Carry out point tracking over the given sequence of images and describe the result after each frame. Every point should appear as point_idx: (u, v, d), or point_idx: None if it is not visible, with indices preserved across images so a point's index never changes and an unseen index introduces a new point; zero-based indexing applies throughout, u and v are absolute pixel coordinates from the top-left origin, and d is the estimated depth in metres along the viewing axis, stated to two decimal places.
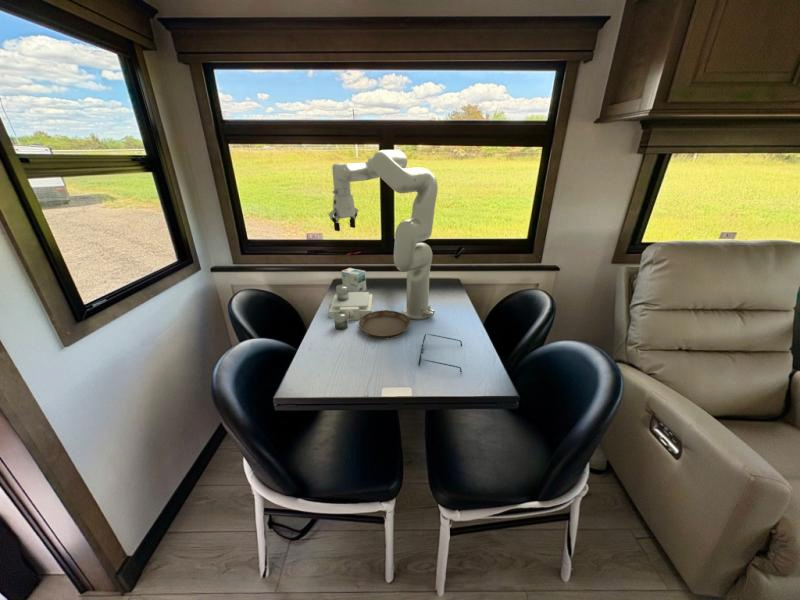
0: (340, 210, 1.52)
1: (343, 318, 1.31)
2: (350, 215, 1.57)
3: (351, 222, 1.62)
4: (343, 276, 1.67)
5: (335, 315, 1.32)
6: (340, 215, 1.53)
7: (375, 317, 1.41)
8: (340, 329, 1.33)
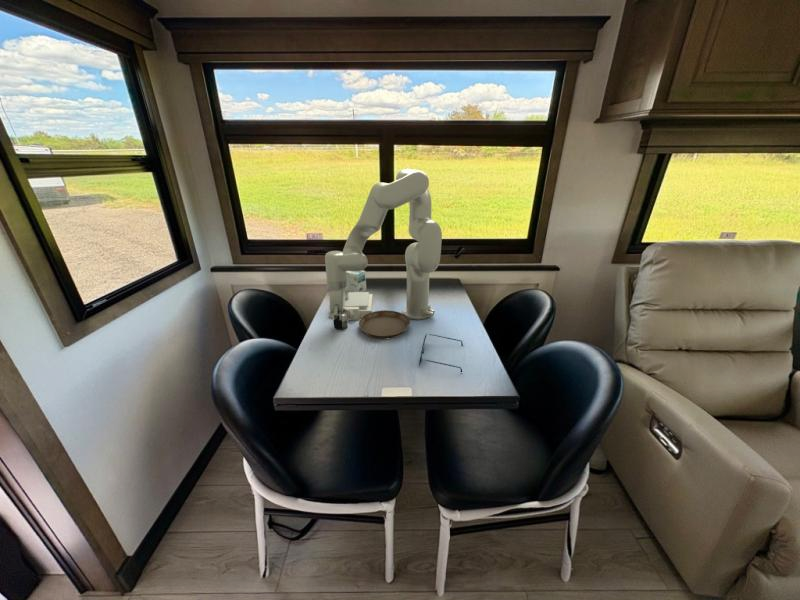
0: None
1: (343, 318, 1.31)
2: None
3: None
4: None
5: None
6: None
7: (375, 317, 1.41)
8: (340, 329, 1.33)
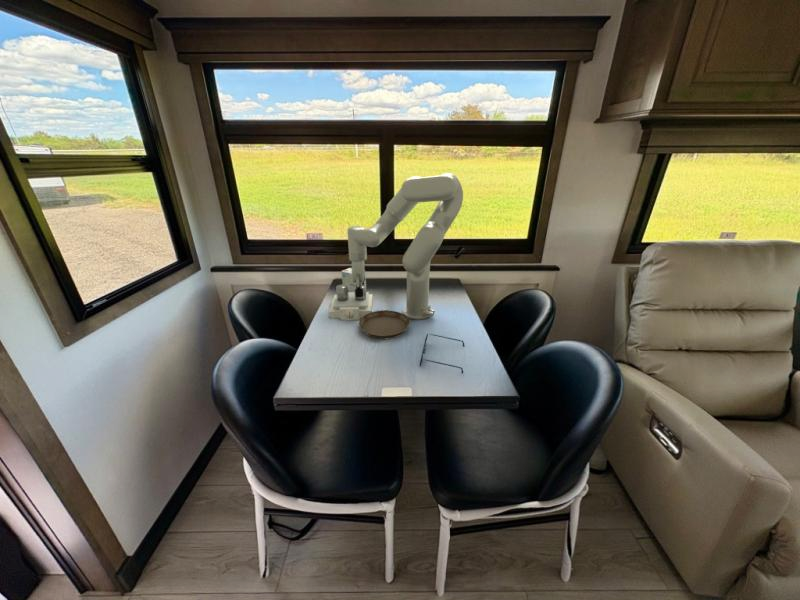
0: None
1: (363, 289, 1.46)
2: None
3: None
4: (343, 276, 1.67)
5: None
6: None
7: (375, 317, 1.41)
8: (360, 299, 1.47)
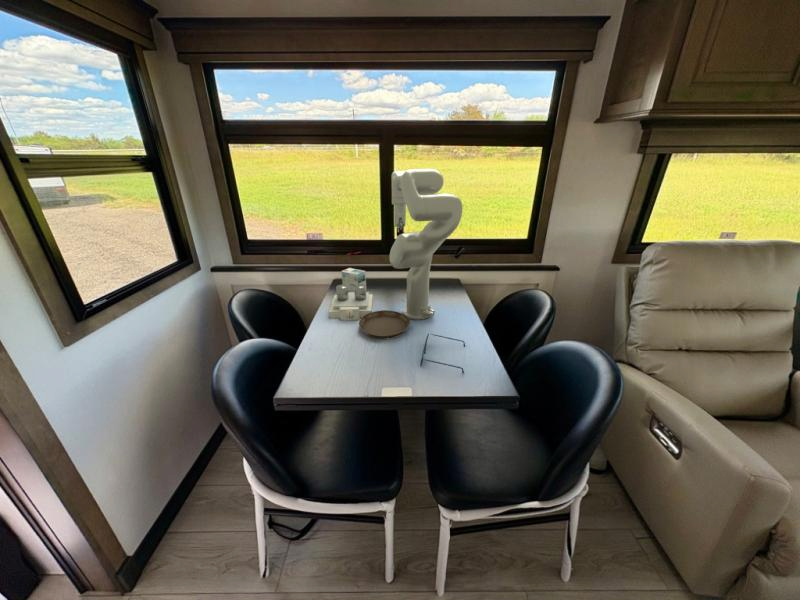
0: None
1: (363, 289, 1.46)
2: (394, 224, 1.51)
3: None
4: (343, 276, 1.67)
5: (355, 287, 1.46)
6: None
7: (375, 317, 1.41)
8: (360, 299, 1.47)
